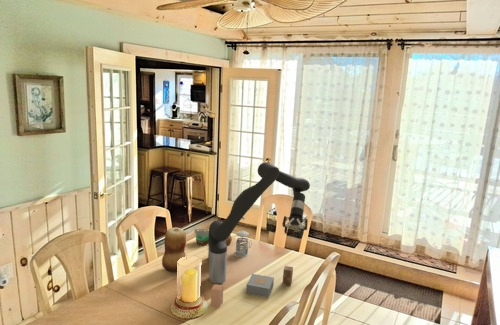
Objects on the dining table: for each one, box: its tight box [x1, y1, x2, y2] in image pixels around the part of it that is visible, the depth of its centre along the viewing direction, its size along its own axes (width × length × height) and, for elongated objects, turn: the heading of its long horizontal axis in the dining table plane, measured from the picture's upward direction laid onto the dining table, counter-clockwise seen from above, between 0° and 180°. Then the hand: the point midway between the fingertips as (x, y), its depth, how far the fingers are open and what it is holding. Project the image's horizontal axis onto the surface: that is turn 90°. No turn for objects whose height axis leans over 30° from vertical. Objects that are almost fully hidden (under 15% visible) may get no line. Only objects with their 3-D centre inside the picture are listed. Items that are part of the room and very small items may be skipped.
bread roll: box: [225, 234, 233, 245], centre depth 246 cm, size 10×15×8 cm, turn 36°
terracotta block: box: [210, 283, 224, 308], centre depth 173 cm, size 4×4×9 cm
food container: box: [193, 227, 209, 246], centre depth 240 cm, size 12×6×10 cm, turn 81°
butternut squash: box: [161, 227, 187, 273], centre depth 202 cm, size 14×13×25 cm
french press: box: [233, 216, 252, 258], centre depth 226 cm, size 10×12×25 cm
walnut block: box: [282, 265, 294, 287], centre depth 195 cm, size 4×4×9 cm
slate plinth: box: [245, 273, 275, 298], centre depth 188 cm, size 12×12×5 cm
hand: (293, 234), depth 202 cm, fingers open, 8 cm apart
